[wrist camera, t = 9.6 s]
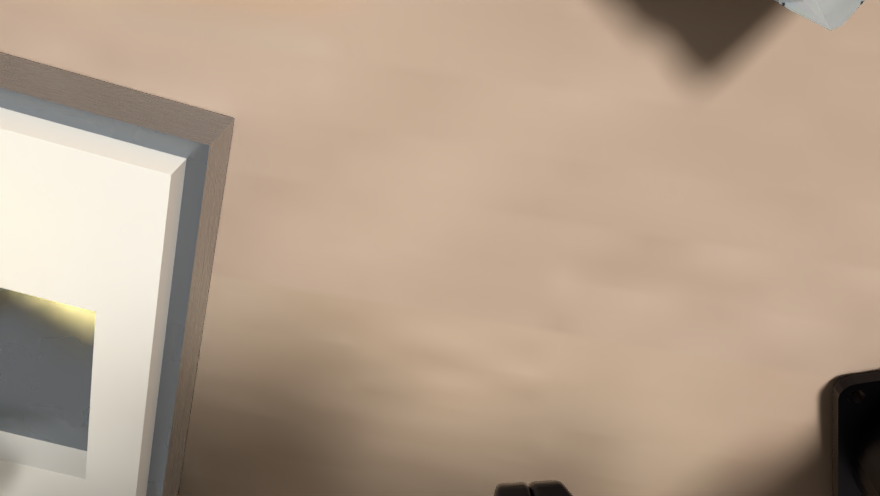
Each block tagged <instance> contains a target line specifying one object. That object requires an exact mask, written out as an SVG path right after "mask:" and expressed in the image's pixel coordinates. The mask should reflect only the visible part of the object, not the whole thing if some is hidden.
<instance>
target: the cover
mask: <svg viewBox="0 0 880 496" xmlns="http://www.w3.org/2000/svg"><path fill="white" fill-rule="evenodd" d="M185 167H186V158H183V157H179V156H175V155H172V154H168V153H164V152H161V151H157V150H153V149H150V148H146V147H143V146H139V145H135V144H132V143H128V142H124V141H121V140H117V139H113V138H110V137H106V136H103V135H99V134H95V133H92V132H88V131H84V130H81V129H77V128H73V127H70V126H66V125H63V124H59V123H55V122H52V121H48V120H44V119H41V118H37V117H33V116H30V115H26V114H23V113H19V112H15V111H12V110H8V109H4V108H1V107H0V288H4V289H8V290H12V291H16V292H20V293H24V294H28V295H32V296H36V297H40V298H44V299H48V300H51V301H55V302H59V303H63V304H67V305H71V306H75V307H79V308H83V309H87V310H91V311H95V312H96V316H95V332H94V349H93V365H92V381H91V397H90V414H89V430H88V446H87V451H84V450H79V449H75V448H71V447H67V446H63V445H58V444H54V443H50V442H46V441H42V440H37V439H33V438H29V437H25V436H20V435H16V434H12V433H8V432H4V431H0V496H146V492H147V484H148V475H149V467H150V459H151V450H152V442H153V434H154V425H155V417H156V409H157V400H158V392H159V384H160V375H161V367H162V359H163V350H164V342H165V334H166V325H167V317H168V309H169V301H170V292H171V284H172V276H173V267H174V259H175V251H176V242H177V234H178V226H179V217H180V209H181V201H182V192H183V184H184V176H185Z"/></svg>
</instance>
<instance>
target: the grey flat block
mask: <svg viewBox="0 0 880 496" xmlns="http://www.w3.org/2000/svg"><path fill="white" fill-rule="evenodd" d="M0 107H1V108H4V109H8V110H12V111H15V112H19V113H23V114H26V115H30V116H33V117H37V118H41V119H44V120H48V121H52V122H55V123H59V124H63V125H66V126H70V127H73V128H77V129H81V130H84V131H88V132H92V133H95V134H99V135H103V136H106V137H110V138H113V139H117V140H121V141H124V142H128V143H132V144H135V145H139V146H143V147H146V148H150V149H153V150H157V151H161V152H164V153H168V154H172V155H175V156H179V157H183V158H186V167H185V176H184V184H183V192H182V201H181V209H180V217H179V226H178V234H177V242H176V251H175V259H174V267H173V276H172V284H171V292H170V301H169V309H168V317H167V325H166V334H165V342H164V350H163V359H162V367H161V375H160V384H159V392H158V400H157V409H156V417H155V425H154V434H153V442H152V450H151V459H150V467H149V475H148V484H147V492H146V496H178V491H179V485H180V478H181V471H182V465H183V458H184V451H185V445H186V438H187V432H188V425H189V418H190V412H191V405H192V398H193V392H194V385H195V378H196V372H197V365H198V358H199V352H200V345H201V338H202V332H203V325H204V319H205V312H206V305H207V299H208V292H209V285H210V279H211V272H212V265H213V259H214V252H215V245H216V239H217V232H218V225H219V219H220V212H221V205H222V199H223V192H224V186H225V179H226V172H227V166H228V159H229V152H230V146H231V139H232V132H233V126H234V119H235V118H233V117H229V116H225V115H222V114H218V113H215V112H211V111H208V110H204V109H201V108H197V107H193V106H190V105H186V104H183V103H179V102H176V101H172V100H169V99H165V98H162V97H158V96H154V95H151V94H147V93H144V92H140V91H137V90H133V89H130V88H126V87H122V86H119V85H115V84H112V83H108V82H105V81H101V80H98V79H94V78H90V77H87V76H83V75H80V74H76V73H73V72H69V71H66V70H62V69H58V68H55V67H51V66H48V65H44V64H41V63H37V62H34V61H30V60H27V59H23V58H19V57H16V56H12V55H9V54H5V53H2V52H0ZM95 316H96V312H95V311H91V310H87V309H83V308H79V307H75V306H71V305H67V304H63V303H59V302H55V301H51V300H48V299H44V298H40V297H36V296H32V295H28V294H24V293H20V292H16V291H12V290H8V289H4V288H0V431H4V432H8V433H12V434H16V435H20V436H25V437H29V438H33V439H37V440H42V441H46V442H50V443H54V444H58V445H63V446H67V447H71V448H75V449H79V450H84V451H87V446H88V430H89V414H90V397H91V381H92V365H93V349H94V332H95Z"/></svg>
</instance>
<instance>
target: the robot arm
mask: <svg viewBox="0 0 880 496" xmlns="http://www.w3.org/2000/svg"><path fill="white" fill-rule="evenodd" d="M856 390H858V391H857V392H856V393H854V394H851V395H848V394H850V393H851V392H853V391H856ZM494 496H572V494H571V493H570V492H569V491H568V489H567V488H566V487H565V486H564V485H563V484H562V483H561V482H559V481H556V480H550V481H534V482H531V483H530V484H529V486H528V485H527V484H525V483H523V482H519V483H503V484H499V485H497V487H496V489H495V494H494ZM833 496H880V371H876V372H869V373H863V374H856V375H850V376H847V377H843V378H842V379H840V380H839V381H837V383H836V384H835V385H834V387H833Z"/></svg>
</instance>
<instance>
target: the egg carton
mask: <svg viewBox="0 0 880 496" xmlns="http://www.w3.org/2000/svg"><path fill="white" fill-rule="evenodd" d="M774 1H776V2H778V3H780V4H781V5H783V6H784V7H786V8H788V9H789V10H791V11H792V12H794V13H796V14H798V15H800V16H802V17H804V18H806V19H808V20H810V21H812V22H814V23H816V24H818V25H820V26H822V27H824V28H826V29H828V30H831V31H832V30H834V29H836V28H838V27H840V26H842V25H843V24H844V23H845V22H846V21H847V20H848V19H849V17H850V16H851V15H852V14H853V13H854V12H855V11H856V10H857V8H858V7H859V6H860V5H861V4H862V3H863V2H864V1H865V0H774Z"/></svg>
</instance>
